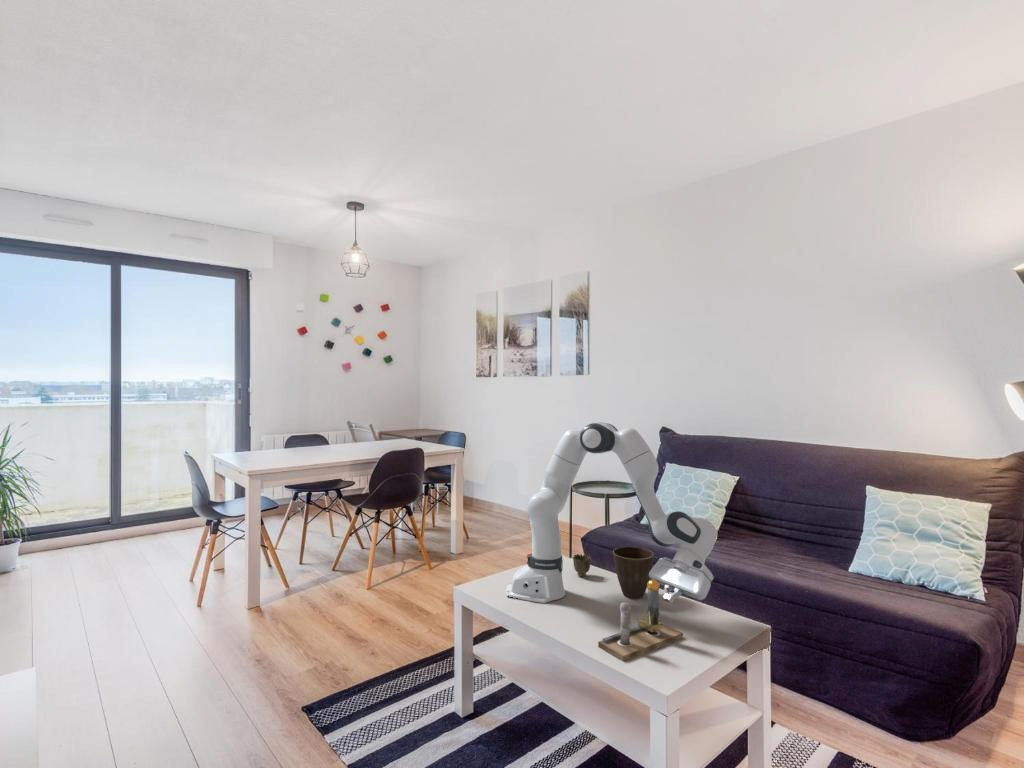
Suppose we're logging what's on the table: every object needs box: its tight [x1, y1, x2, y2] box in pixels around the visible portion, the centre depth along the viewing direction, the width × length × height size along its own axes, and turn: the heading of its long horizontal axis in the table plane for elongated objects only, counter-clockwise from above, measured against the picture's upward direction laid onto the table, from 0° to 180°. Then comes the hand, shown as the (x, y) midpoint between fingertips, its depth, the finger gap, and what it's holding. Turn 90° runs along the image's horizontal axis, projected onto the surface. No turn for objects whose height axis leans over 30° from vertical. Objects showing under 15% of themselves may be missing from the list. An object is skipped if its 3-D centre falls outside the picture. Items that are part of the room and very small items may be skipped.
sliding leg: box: [636, 579, 663, 632], centre depth 159 cm, size 4×6×16 cm
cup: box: [572, 553, 592, 578], centre depth 212 cm, size 8×7×8 cm
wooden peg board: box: [597, 601, 684, 662], centre depth 155 cm, size 26×10×13 cm, turn 124°
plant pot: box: [612, 546, 655, 600], centre depth 191 cm, size 15×15×16 cm
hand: (666, 600), depth 162 cm, fingers closed
